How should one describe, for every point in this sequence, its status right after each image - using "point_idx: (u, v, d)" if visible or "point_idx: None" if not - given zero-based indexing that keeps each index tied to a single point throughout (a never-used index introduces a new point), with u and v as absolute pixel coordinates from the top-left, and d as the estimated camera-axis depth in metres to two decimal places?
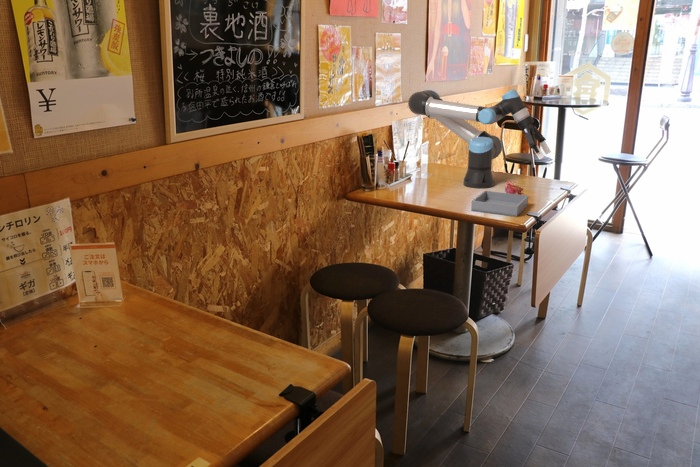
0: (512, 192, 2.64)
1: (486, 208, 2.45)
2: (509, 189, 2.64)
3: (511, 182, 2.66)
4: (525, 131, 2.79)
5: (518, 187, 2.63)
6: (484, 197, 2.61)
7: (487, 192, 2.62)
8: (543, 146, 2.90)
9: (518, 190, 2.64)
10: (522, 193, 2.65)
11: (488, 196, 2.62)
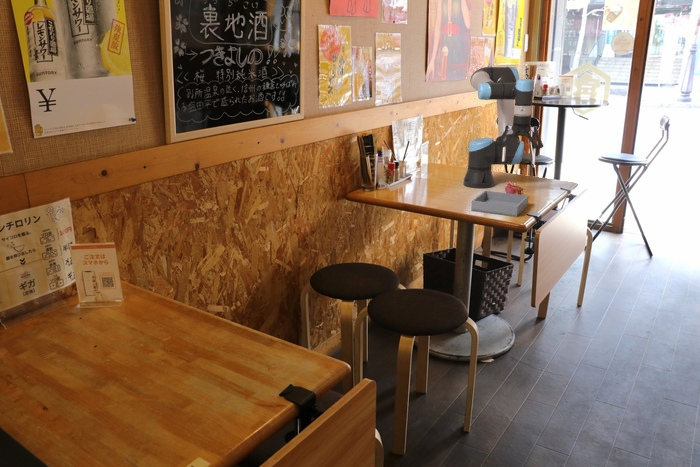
0: (512, 192, 2.64)
1: (486, 208, 2.45)
2: (509, 189, 2.64)
3: (511, 182, 2.66)
4: None
5: (518, 187, 2.63)
6: (484, 197, 2.61)
7: (487, 192, 2.62)
8: None
9: (518, 190, 2.64)
10: (522, 193, 2.65)
11: (488, 196, 2.62)
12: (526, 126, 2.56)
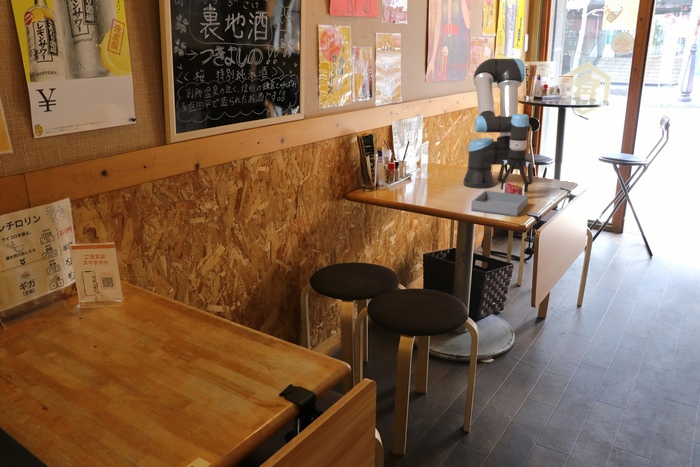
0: (512, 192, 2.64)
1: (486, 208, 2.45)
2: (509, 189, 2.64)
3: (511, 182, 2.66)
4: None
5: (518, 187, 2.63)
6: (484, 197, 2.61)
7: (487, 192, 2.62)
8: None
9: (518, 190, 2.64)
10: None
11: (488, 196, 2.62)
12: (522, 160, 2.60)
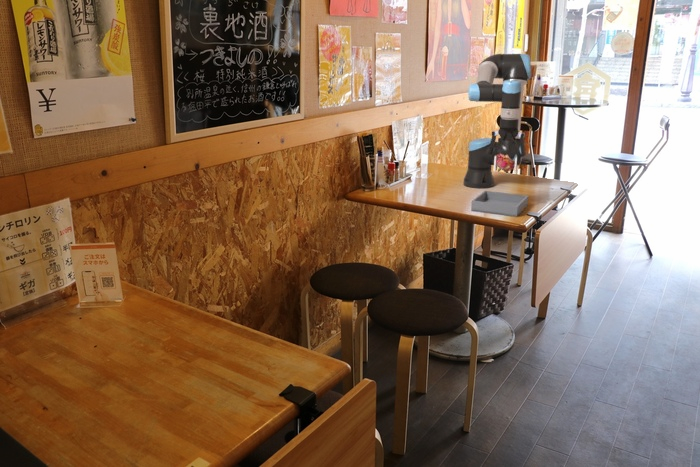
0: (504, 165, 2.45)
1: (486, 208, 2.45)
2: (500, 162, 2.45)
3: (503, 155, 2.47)
4: None
5: (510, 159, 2.44)
6: (484, 197, 2.61)
7: (487, 192, 2.62)
8: None
9: (510, 163, 2.45)
10: None
11: (488, 196, 2.62)
12: (514, 130, 2.42)
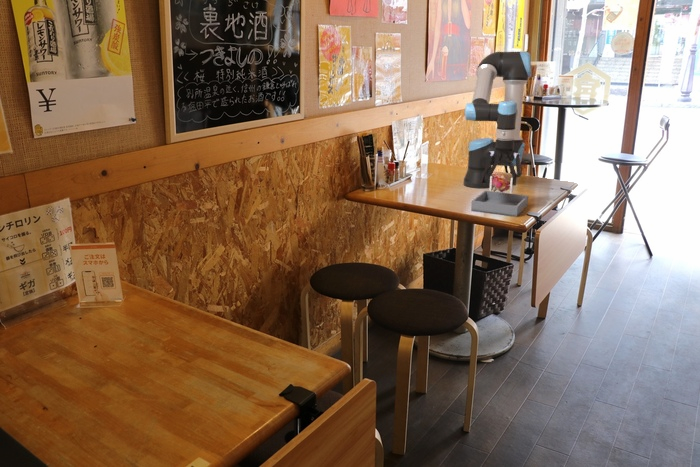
0: (499, 185, 2.45)
1: (486, 208, 2.45)
2: (496, 182, 2.45)
3: (498, 175, 2.47)
4: None
5: (506, 180, 2.44)
6: (484, 197, 2.61)
7: (487, 192, 2.62)
8: None
9: (506, 183, 2.45)
10: None
11: (488, 196, 2.62)
12: (509, 150, 2.42)
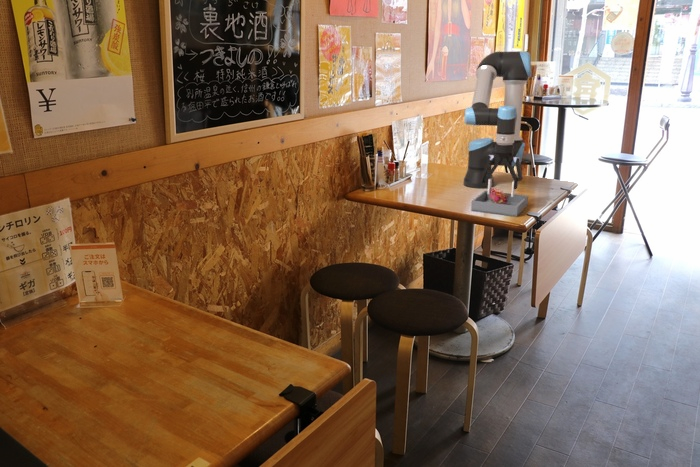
0: (497, 199, 2.48)
1: (486, 208, 2.45)
2: (494, 196, 2.48)
3: (496, 189, 2.50)
4: None
5: (503, 194, 2.47)
6: (484, 197, 2.61)
7: (487, 192, 2.62)
8: None
9: (503, 197, 2.48)
10: (507, 200, 2.49)
11: (488, 196, 2.62)
12: (509, 155, 2.42)
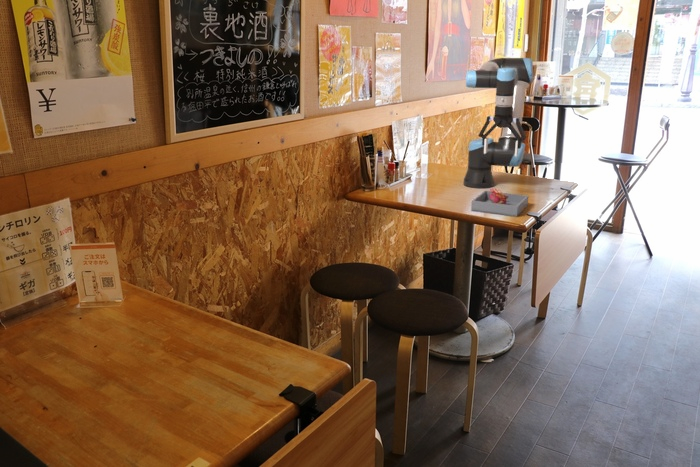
0: (497, 200, 2.48)
1: (486, 208, 2.45)
2: (493, 197, 2.48)
3: (495, 189, 2.50)
4: None
5: (503, 195, 2.47)
6: (484, 197, 2.61)
7: (487, 192, 2.62)
8: None
9: (503, 198, 2.48)
10: (507, 201, 2.49)
11: (488, 196, 2.62)
12: (508, 117, 2.45)
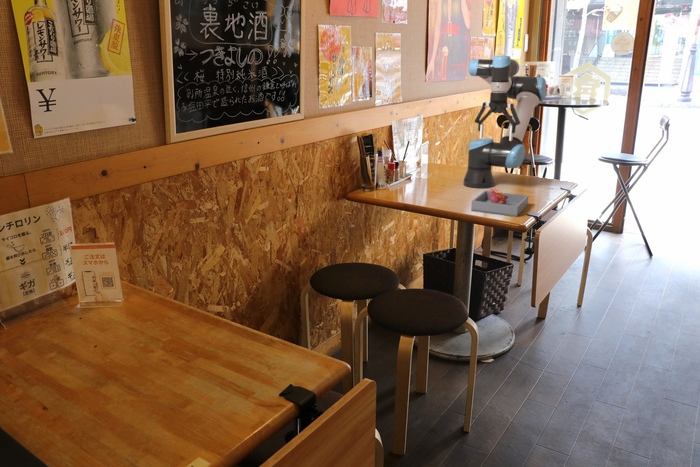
0: (497, 200, 2.48)
1: (486, 208, 2.45)
2: (493, 197, 2.48)
3: (495, 189, 2.50)
4: None
5: (503, 195, 2.47)
6: (484, 197, 2.61)
7: (487, 192, 2.62)
8: None
9: (503, 198, 2.48)
10: (507, 201, 2.49)
11: (488, 196, 2.62)
12: (503, 103, 2.56)
